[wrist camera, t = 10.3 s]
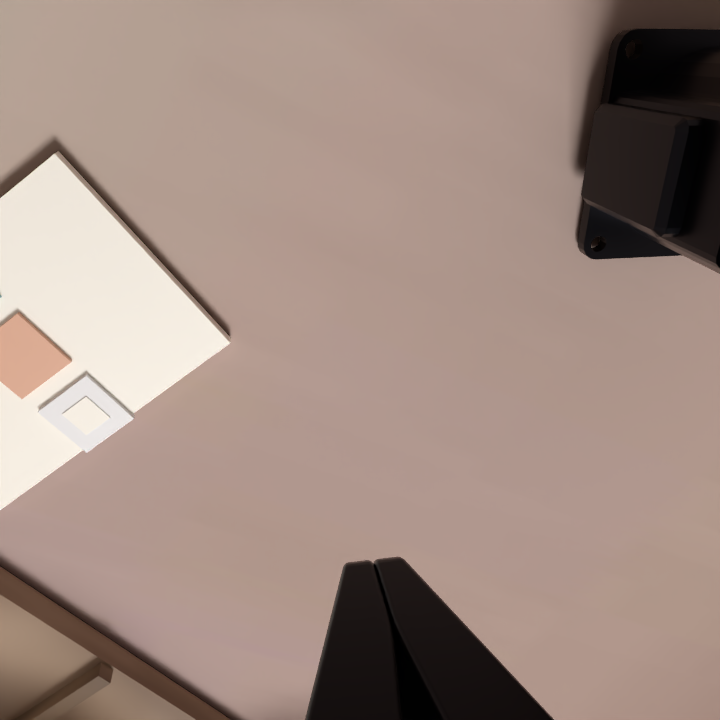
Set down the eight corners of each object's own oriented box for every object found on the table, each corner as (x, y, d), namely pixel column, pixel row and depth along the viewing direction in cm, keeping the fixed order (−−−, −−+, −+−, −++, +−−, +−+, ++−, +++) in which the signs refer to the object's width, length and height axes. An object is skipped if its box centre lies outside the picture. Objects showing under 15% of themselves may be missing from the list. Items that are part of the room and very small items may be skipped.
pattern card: (55, 147, 17) (49, 151, 16) (232, 339, 20) (232, 348, 19) (-203, 361, 18) (-217, 370, 18) (1, 507, 21) (-5, 518, 21)
